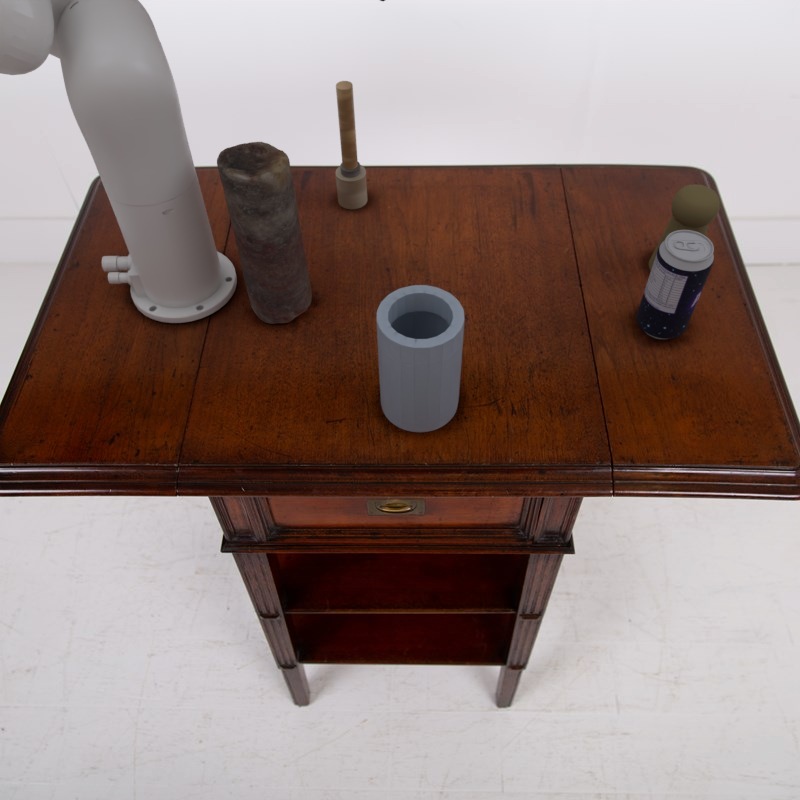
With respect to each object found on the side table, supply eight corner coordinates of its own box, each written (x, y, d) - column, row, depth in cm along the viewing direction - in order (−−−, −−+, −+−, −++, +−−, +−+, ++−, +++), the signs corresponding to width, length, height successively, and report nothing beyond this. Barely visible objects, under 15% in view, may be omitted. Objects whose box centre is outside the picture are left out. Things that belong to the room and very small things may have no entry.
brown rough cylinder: (244, 290, 92) (209, 144, 76) (302, 275, 93) (280, 128, 78) (259, 332, 87) (225, 186, 72) (320, 316, 89) (300, 169, 73)
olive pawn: (645, 277, 92) (669, 203, 84) (651, 246, 96) (675, 172, 87) (696, 288, 91) (726, 213, 82) (700, 256, 95) (729, 182, 86)
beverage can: (685, 347, 85) (719, 266, 76) (634, 340, 86) (661, 259, 76) (684, 312, 89) (716, 230, 79) (634, 305, 89) (660, 224, 80)
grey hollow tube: (380, 433, 78) (376, 348, 68) (381, 373, 83) (376, 285, 73) (460, 431, 78) (467, 346, 68) (455, 371, 83) (461, 284, 73)
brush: (337, 209, 101) (326, 94, 88) (338, 191, 104) (328, 76, 91) (367, 209, 101) (360, 93, 88) (367, 191, 104) (361, 75, 91)
